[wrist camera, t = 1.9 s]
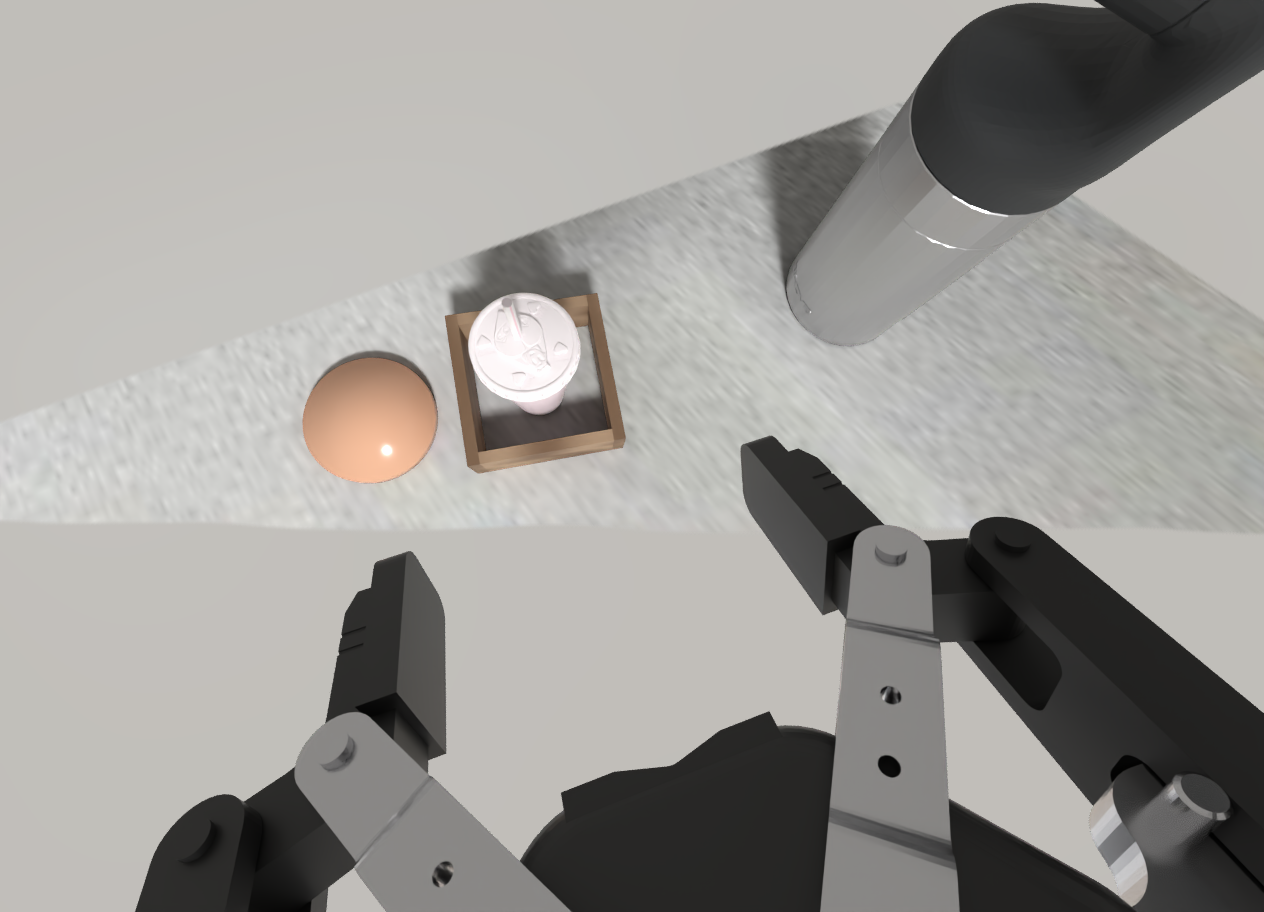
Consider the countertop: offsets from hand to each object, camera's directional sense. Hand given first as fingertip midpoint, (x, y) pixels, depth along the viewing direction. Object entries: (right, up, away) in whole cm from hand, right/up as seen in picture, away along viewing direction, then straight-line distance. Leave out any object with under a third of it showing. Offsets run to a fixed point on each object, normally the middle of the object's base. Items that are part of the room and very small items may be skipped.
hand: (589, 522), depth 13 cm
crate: (-6, +6, +28) cm, 29 cm away
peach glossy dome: (-18, +4, +26) cm, 32 cm away
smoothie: (-6, +6, +28) cm, 29 cm away
